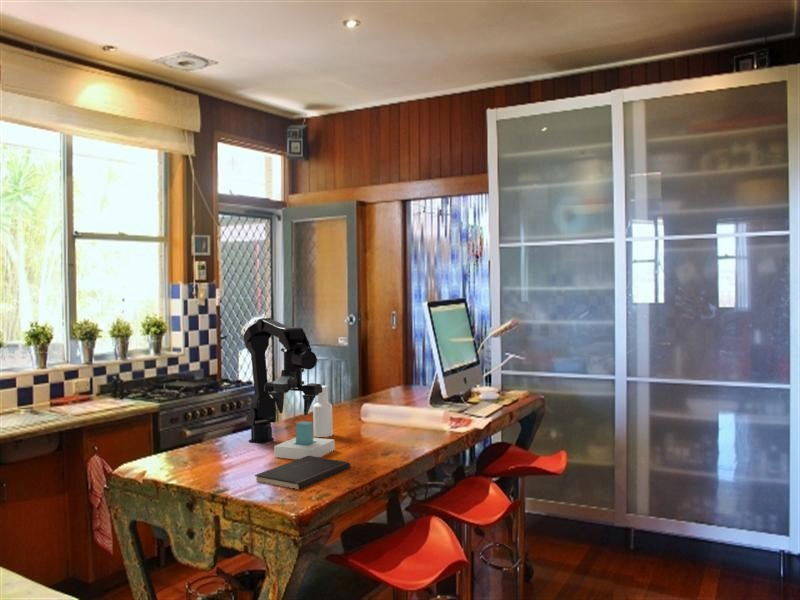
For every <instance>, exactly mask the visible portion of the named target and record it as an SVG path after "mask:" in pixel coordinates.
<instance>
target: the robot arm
mask: <svg viewBox="0 0 800 600" xmlns="http://www.w3.org/2000/svg"><path fill="white" fill-rule="evenodd" d="M272 336H274V337H276V338H278V342H279V343H280V344H281V345H282V348H281V349H280V351H281V352H283V369H282V370H281V372H280V374H281V375H280V376H279V377H277V378H276V379H274V380H272V381H269V380H268V371H267V360H266V358H267V357H266V352H267V350H268V348H269V346H270V339H271V337H272ZM243 342H244V345H245V348H246V350H247V351H248V352H249V354H250V357H251V370H252V379H253V391H254V396H253V398H252V400H251V403H250V410H249V412H248V414H247V416H246V418H245V420H246V424H247V425H250V436H251V437H250V438H251V439H249V440H248V442H250V443H261V444H265V443H267V442H269V441H272V440H274V439H275V438H274V437H273V427H272V423H275V421H276V416H277V411H278V412H279V414H283V412H284V406H285V405H284V402H285V393H286V394H287V393H289V391H293V392H294V391H296V392H302V393H303V394H302V395H301V396H302V399H303V415H304V416H305V417H306V416H308V413H309V411H310V409H311V406H312V403H313V402H314V400H315V398H316V397H317V395H319V393H321V392H322V386H323V385H322V384H321V383H311V382H310V383H307V384H305V381H304V380H303V373H304V372H305V370H312V369H314V368H315V367H316V365H317V363H318V358H317V354H315V352H313V351H312V347H311V346H310V341H309V339H308V337H307V335H306V332H305V330H304V329H303V327H300V326H287V325H285V324H282V323H281V322H280V321H279V322H278V321H276V320H274V318H271V317H259V319H257V321H255V323H253V324H251V325H250V326H248V327H247V328H246V331H245V332H244V334H243ZM276 406H277V407H276ZM277 409H278V410H277Z"/></svg>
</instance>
